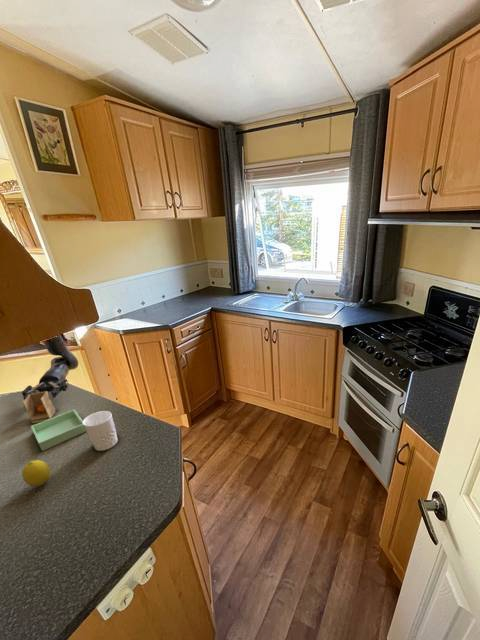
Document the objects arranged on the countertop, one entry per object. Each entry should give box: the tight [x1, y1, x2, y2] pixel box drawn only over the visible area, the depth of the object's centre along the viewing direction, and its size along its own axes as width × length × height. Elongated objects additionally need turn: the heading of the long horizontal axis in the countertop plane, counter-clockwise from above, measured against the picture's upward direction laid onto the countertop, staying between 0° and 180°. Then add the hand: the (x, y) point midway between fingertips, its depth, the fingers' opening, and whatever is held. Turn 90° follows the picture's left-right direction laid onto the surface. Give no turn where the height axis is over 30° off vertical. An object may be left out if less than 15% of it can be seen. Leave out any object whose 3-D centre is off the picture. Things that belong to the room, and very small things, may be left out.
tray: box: [30, 409, 87, 452], centre depth 99 cm, size 13×13×3 cm
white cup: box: [82, 410, 119, 452], centre depth 91 cm, size 8×8×10 cm
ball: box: [37, 405, 46, 413], centre depth 108 cm, size 3×3×3 cm
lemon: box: [21, 459, 51, 487], centre depth 77 cm, size 6×6×8 cm
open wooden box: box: [22, 391, 56, 424], centre depth 107 cm, size 6×6×9 cm
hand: (39, 397), depth 108 cm, fingers open, 8 cm apart
